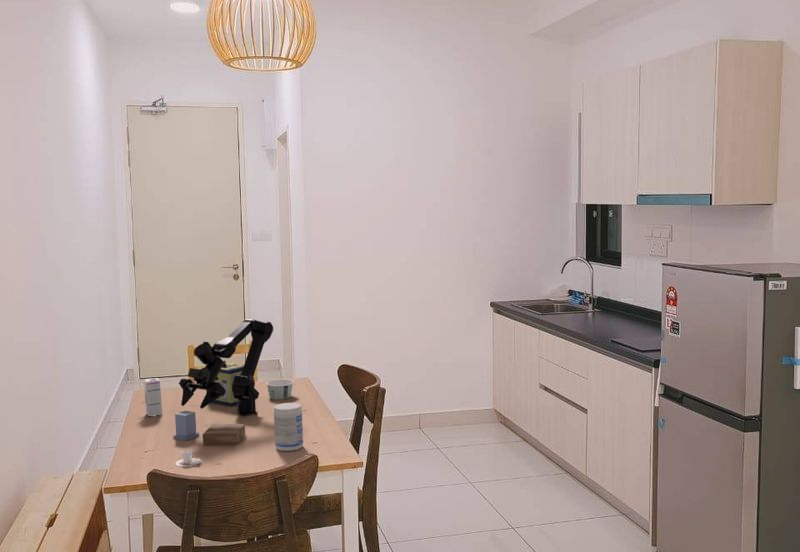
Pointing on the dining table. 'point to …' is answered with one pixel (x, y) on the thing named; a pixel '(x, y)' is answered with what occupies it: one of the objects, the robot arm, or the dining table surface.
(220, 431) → the stack block
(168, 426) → the dining table surface
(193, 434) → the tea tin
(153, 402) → the syrup box
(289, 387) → the food container
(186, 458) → the teacup and saucer
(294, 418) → the supplement tub
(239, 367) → the protein box
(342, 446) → the dining table surface
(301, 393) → the dining table surface
